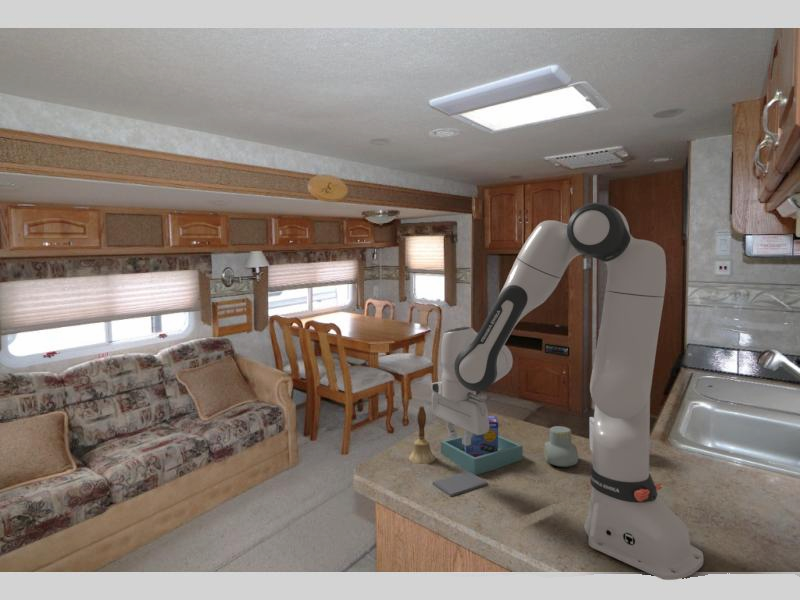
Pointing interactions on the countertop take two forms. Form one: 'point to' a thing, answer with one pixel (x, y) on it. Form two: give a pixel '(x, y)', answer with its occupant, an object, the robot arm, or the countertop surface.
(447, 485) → the mat
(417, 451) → the hand bell
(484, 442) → the ink cartridge box
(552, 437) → the air freshener
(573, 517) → the countertop surface
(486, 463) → the bin
